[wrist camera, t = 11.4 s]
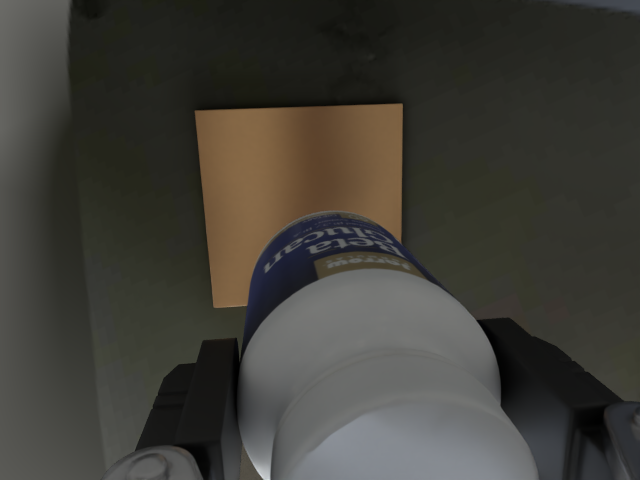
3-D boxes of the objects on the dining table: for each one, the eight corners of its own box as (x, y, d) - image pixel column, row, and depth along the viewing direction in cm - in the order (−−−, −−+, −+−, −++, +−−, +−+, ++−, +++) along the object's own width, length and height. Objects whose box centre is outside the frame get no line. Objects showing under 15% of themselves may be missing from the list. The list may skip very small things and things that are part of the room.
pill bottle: (373, 179, 15) (534, 280, 6) (430, 317, 17) (630, 571, 8) (220, 249, 16) (147, 454, 6) (290, 381, 17) (317, 711, 8)
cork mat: (214, 305, 31) (213, 308, 30) (195, 110, 28) (194, 110, 27) (398, 292, 32) (400, 295, 31) (400, 103, 29) (402, 103, 28)
